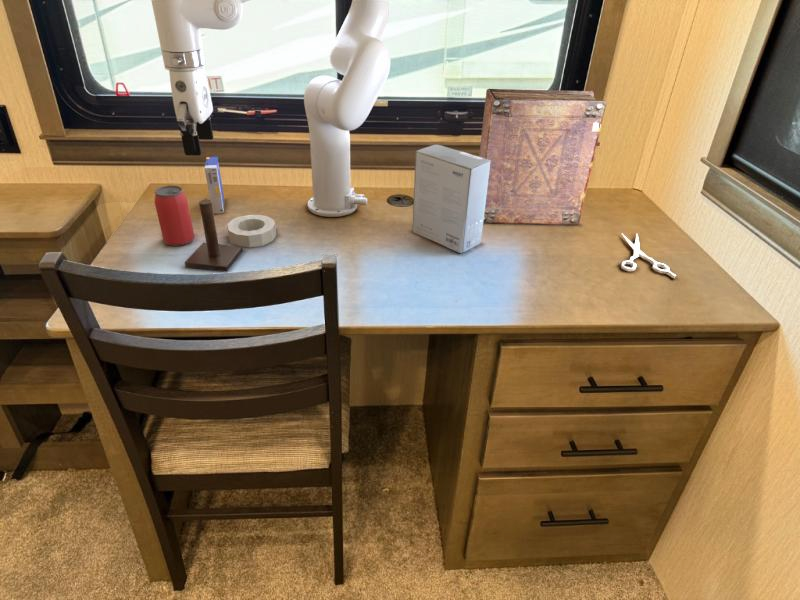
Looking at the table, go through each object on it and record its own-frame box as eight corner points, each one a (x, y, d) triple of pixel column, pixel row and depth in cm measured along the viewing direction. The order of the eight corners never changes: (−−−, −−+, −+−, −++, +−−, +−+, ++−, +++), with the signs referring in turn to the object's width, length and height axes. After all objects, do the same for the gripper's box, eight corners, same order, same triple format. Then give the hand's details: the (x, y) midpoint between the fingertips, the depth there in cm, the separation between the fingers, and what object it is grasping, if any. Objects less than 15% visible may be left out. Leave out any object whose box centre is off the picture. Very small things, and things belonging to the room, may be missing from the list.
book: (568, 209, 146) (594, 91, 129) (578, 225, 138) (608, 101, 122) (472, 207, 145) (486, 88, 128) (477, 223, 138) (493, 98, 121)
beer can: (185, 248, 122) (174, 198, 115) (157, 245, 123) (145, 194, 116) (200, 235, 127) (190, 186, 121) (173, 232, 128) (163, 182, 122)
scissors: (625, 271, 119) (606, 228, 135) (624, 274, 119) (605, 231, 135) (676, 275, 118) (651, 232, 134) (675, 278, 118) (650, 235, 135)
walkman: (213, 201, 143) (205, 155, 137) (224, 200, 144) (217, 155, 137) (211, 214, 137) (203, 167, 130) (223, 213, 138) (216, 166, 131)
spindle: (243, 251, 122) (235, 195, 115) (226, 271, 115) (217, 213, 107) (204, 247, 123) (193, 191, 116) (185, 267, 116) (173, 209, 108)
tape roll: (281, 228, 132) (280, 217, 130) (266, 249, 123) (265, 237, 122) (239, 224, 133) (237, 212, 131) (221, 244, 124) (219, 232, 123)
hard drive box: (482, 243, 129) (492, 160, 117) (461, 255, 124) (471, 169, 113) (431, 222, 137) (436, 142, 126) (410, 231, 133) (414, 150, 121)
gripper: (191, 69, 99) (207, 161, 109) (214, 50, 114) (227, 134, 123) (148, 68, 99) (168, 161, 109) (177, 50, 113) (193, 133, 123)
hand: (199, 146), depth 116 cm, fingers open, 9 cm apart
